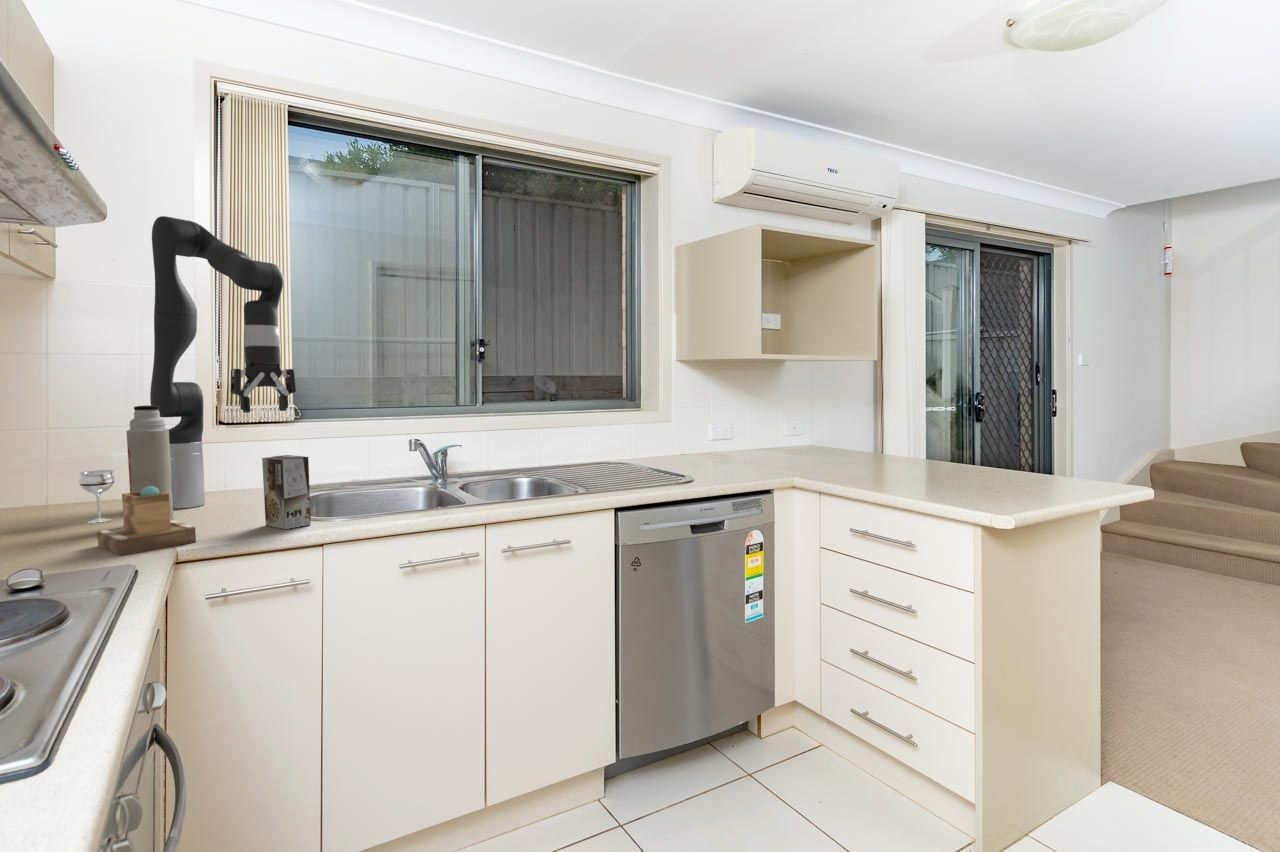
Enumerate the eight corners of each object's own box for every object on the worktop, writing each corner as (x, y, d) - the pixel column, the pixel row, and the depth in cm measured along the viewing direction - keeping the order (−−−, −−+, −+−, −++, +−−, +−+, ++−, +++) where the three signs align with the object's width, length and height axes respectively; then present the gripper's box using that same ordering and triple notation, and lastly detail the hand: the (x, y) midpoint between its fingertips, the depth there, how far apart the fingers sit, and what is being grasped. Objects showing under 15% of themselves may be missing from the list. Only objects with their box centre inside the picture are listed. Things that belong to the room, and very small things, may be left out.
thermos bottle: (126, 529, 154) (119, 406, 152) (138, 522, 162) (131, 405, 159) (168, 526, 157) (161, 405, 155) (177, 520, 164) (171, 404, 162)
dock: (98, 545, 139) (97, 530, 139) (170, 533, 149) (170, 519, 149) (121, 555, 131) (120, 538, 131) (195, 542, 142) (195, 526, 142)
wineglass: (124, 518, 166) (121, 469, 166) (102, 524, 160) (99, 473, 159) (97, 518, 167) (94, 469, 166) (73, 524, 160) (70, 473, 159)
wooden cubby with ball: (124, 529, 140) (121, 493, 140) (155, 524, 145) (153, 490, 144) (138, 534, 136) (136, 497, 135) (170, 529, 140) (168, 493, 140)
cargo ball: (135, 491, 139) (142, 483, 138) (152, 491, 142) (160, 482, 140) (139, 505, 138) (146, 496, 137) (156, 504, 141) (164, 496, 140)
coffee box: (312, 525, 158) (309, 456, 157) (285, 530, 153) (282, 459, 152) (291, 520, 163) (288, 454, 162) (264, 525, 158) (261, 456, 157)
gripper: (284, 346, 172) (286, 410, 173) (223, 344, 161) (226, 412, 162) (299, 345, 168) (301, 410, 169) (237, 343, 156) (241, 413, 157)
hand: (265, 411), depth 165 cm, fingers open, 8 cm apart
